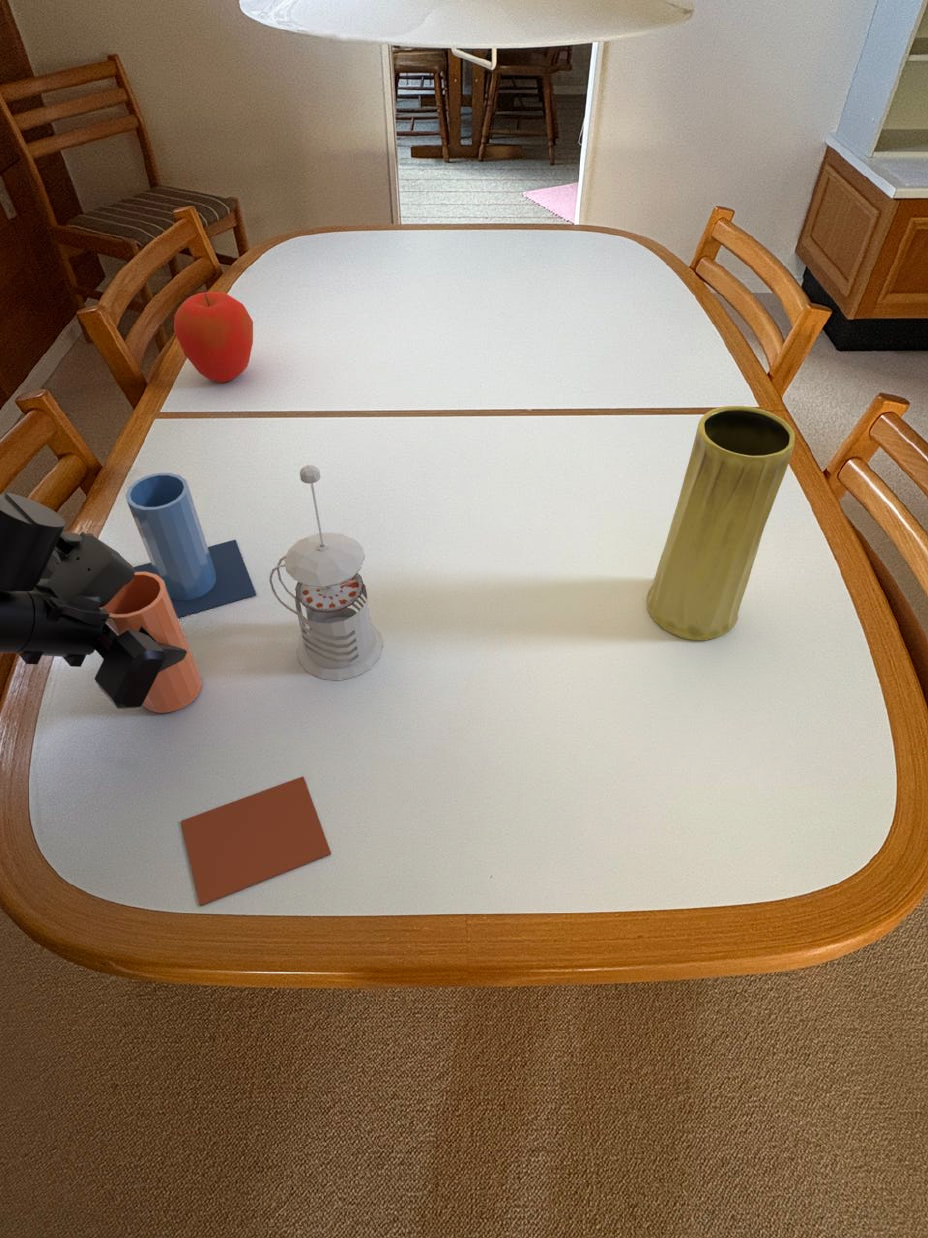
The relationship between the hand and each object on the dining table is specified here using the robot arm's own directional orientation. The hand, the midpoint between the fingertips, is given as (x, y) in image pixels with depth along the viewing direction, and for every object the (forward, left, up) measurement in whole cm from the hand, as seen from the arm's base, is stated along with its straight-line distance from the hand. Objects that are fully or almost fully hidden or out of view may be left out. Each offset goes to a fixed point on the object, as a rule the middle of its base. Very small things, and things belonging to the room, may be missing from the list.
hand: (165, 635), depth 81 cm
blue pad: (+4, +15, -8) cm, 17 cm away
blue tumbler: (+4, +15, -7) cm, 17 cm away
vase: (+58, -14, -8) cm, 60 cm away
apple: (+19, +62, -8) cm, 65 cm away
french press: (+17, -2, -8) cm, 18 cm away
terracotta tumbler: (-1, -1, -7) cm, 7 cm away
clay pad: (+3, -22, -8) cm, 23 cm away
